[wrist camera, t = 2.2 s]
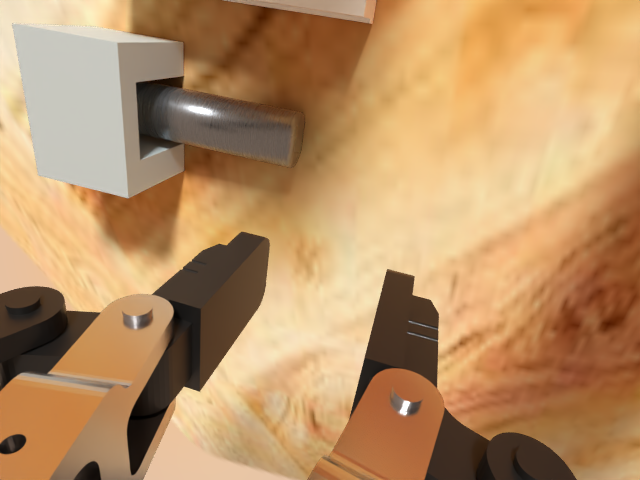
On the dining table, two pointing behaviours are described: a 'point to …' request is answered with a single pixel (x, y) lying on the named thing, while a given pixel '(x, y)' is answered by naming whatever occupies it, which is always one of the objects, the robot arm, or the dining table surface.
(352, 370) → the dining table surface
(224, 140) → the axle
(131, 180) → the bearing block
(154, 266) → the dining table surface
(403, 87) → the dining table surface
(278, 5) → the cradle
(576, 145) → the dining table surface
